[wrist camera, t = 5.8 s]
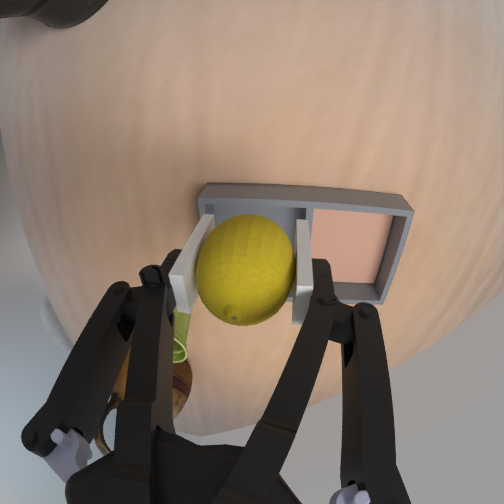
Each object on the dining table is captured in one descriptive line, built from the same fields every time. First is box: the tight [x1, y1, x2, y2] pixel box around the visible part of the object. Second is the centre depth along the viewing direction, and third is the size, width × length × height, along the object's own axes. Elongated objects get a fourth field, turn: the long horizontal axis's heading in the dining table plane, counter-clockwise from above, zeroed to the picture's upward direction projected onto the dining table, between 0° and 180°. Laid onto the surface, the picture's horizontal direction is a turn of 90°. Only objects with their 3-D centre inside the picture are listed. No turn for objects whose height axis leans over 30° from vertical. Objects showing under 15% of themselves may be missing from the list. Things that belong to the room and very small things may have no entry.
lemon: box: [196, 214, 295, 326], centre depth 16 cm, size 6×6×8 cm
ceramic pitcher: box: [94, 347, 192, 456], centre depth 48 cm, size 20×20×30 cm
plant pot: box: [173, 306, 190, 363], centre depth 45 cm, size 9×9×9 cm
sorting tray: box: [197, 183, 414, 305], centre depth 35 cm, size 15×25×4 cm, turn 91°
